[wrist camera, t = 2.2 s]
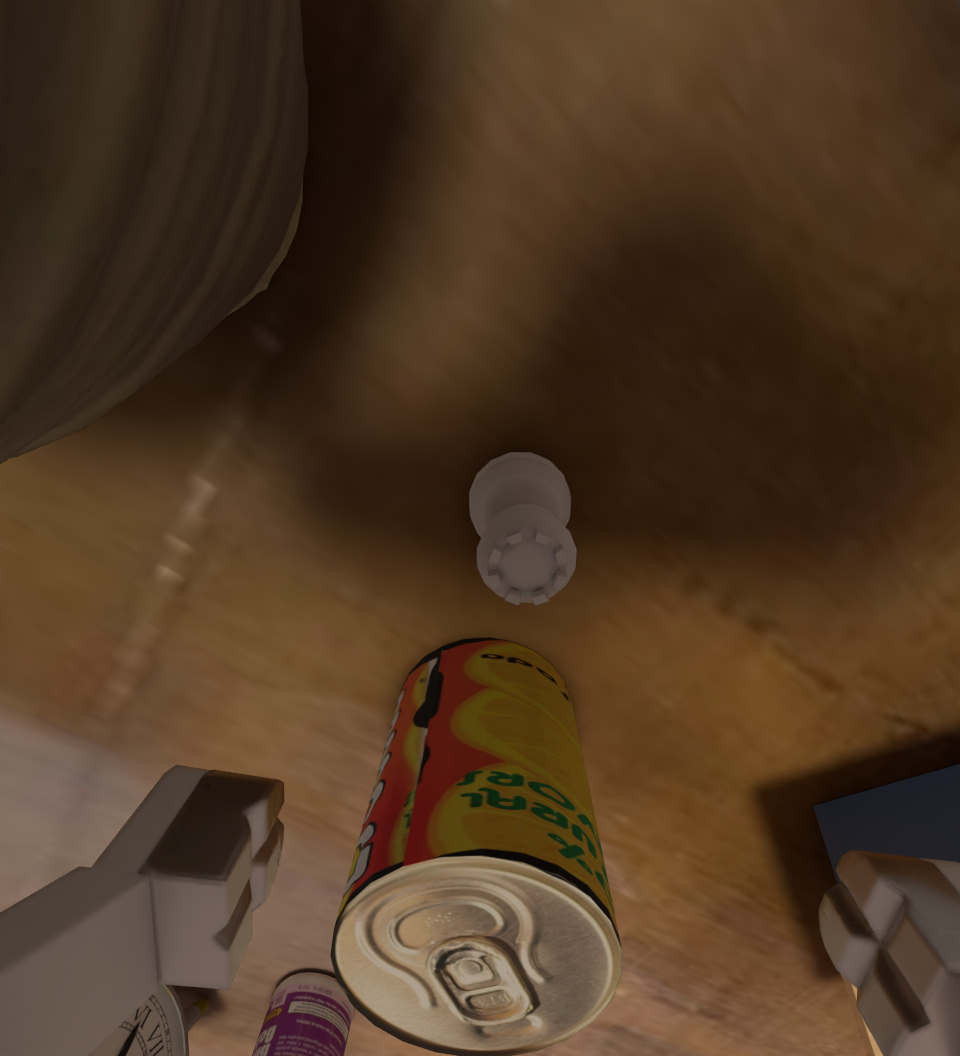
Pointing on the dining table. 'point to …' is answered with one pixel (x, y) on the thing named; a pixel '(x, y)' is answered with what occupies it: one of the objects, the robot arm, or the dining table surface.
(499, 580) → the rook chess piece
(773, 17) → the dining table surface
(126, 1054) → the alarm clock
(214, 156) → the vase
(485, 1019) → the beverage can
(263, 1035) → the pill bottle
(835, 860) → the board box
